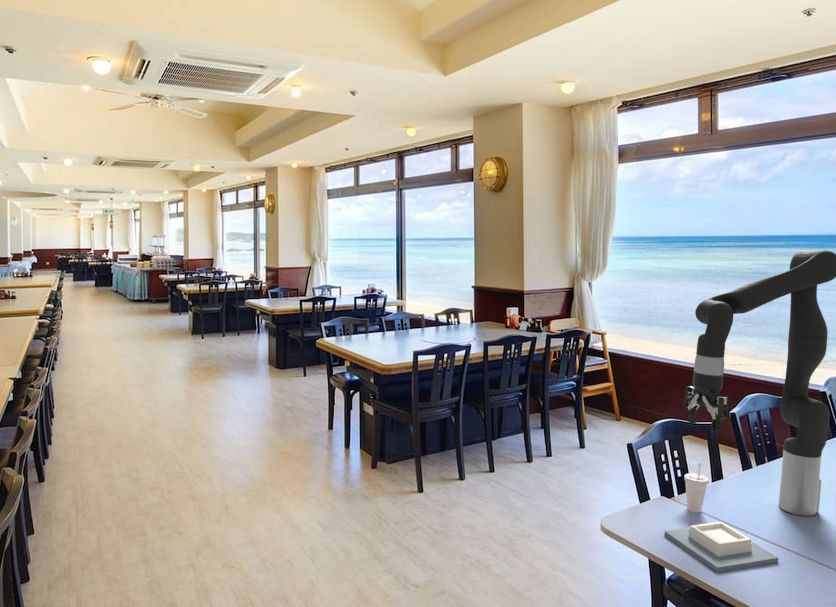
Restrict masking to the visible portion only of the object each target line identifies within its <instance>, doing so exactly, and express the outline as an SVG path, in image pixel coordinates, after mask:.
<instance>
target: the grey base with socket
mask: <svg viewBox="0 0 836 607" xmlns="http://www.w3.org/2000/svg"><path fill="white" fill-rule="evenodd" d="M664 537H665V538H667V539H669V540H670V541H672V542H673V543H675V544H676V545H677V546H679V547H680V548H682V549H683V550H685V551H686V552H687V553H689V554H690V555H691V556H693V557H694V558H695V559H697V560H699V561H700V562H702V563H703V564H704V565H705V566H707V567H709V568H710V569H711V570H713V571H714V572H716V573H721V572H727V571H735V570H741V569H746V568H753V567H759V566H765V565H772V564H777V563H779V557H778V556H776V555H775V554H773V553H771V552H769V551H768V550H767V549H765V548H763V547H761V546H760V545H758V544H756V543H755V542H753V541H752V539H751V538H750V537H748V536H746V535H745V534H743V533H741V532H739V531H738V530H736V529H735V528H733V527H731V526H730V525H728V524H726V523H724V522H722V521H716V522H708V523H700V524H694V525H690V526H689V527H686V528H685V527H684V528H678V529H669V530H664Z"/></svg>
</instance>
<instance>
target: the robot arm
mask: <svg viewBox="0 0 836 607" xmlns="http://www.w3.org/2000/svg"><path fill="white" fill-rule="evenodd" d="M834 279H836V253H835V252H833V251H831V250H827V249H826V250H825V249H802V250H799V251H797V252H796V253H795V254H793V256H792V258H791V260H790V263H789V270H786V271H783V272H781V273H777V274H774V275H770V276H766V277H763V278H760V279H757V280H753V281H751V282H748V283H747V284H744V285H742V286H740V287H737V288H735V289H734V290H731V291H729V292H725V293H721V294H717V295H715V296H712V297H709V298H707V299H704V300H703V301H701V302H700V303H698V305H697V306H696V308H695V312H694V313H695V314H694V315H695V317H696V319H697V320H698V321H699V322H700V323H701V324H703V325H706V328H705V331H704V333H702V334H700V335H699V336H698V337H697V343H696V353H695V359H694V365H693V366H694V367H693V374H692V385H689V386H686V387H685V389H684V390H685V391H684V397H683V406H684V407H686V408H687V409H688V416H687V419H688V423H689V424H696V423H697V419H698V409H699V407H703V408H705V409H706V410H707V411H708V412H709V413H710V415H711V417H712V419H711V426H710V432H711V433H713V434H714V433H719V432H720V431H721V425H722V420H726V419H728V418H729V408H730V407H729V405H730V404H729V403H730V399H729V397H728V396H721V395H720V392H721V390H722V389H723V383H724V373H725V372H724V370H725V353H726V352H725V349H726V341H727V339H728V337H729V334H730V331H731V329H732V326H733V322H734V315H736V314H737V315H738V314H740V315H741V314H746V313H748V312H751V311H754V310H755V309H757V308H759V307H761V306H764V305H765V304H766V305H767V304H768V303H771V302H772V301H775V300H777V299H779V298H782V297H784V296H787V295H789V294H790V311H789V312H790V313H789V328H788V339H787V340H788V341H787V357H786V358H787V359H786V369H785V379H784V384H783V389H782V395H781V400H780V405H779V406H780V408H779V409H780V410H779V412H780V416H781V418H782V420H783V421H784V422H785V423H787V424H789V425H791V426H793V427H796V428H797V432H796V433H797V434H796V437H788V438H785V439H784V441H783V450H782V461H781V462H782V465H781V474H780V485H779V494H778V495H779V496H778V507H779V508H780V509H781V510H783V511H784V512H788V513H790V514H793V515H796V516H802V517H812V516H816V514H817V513H819V511H820V500H821V499H820V498H821V490H822V480H821V478H820V476H821V464H822V463H821V462H822V456H823V455H822V454H823V450H824V448H825V447H826V443H827V438H828V434H829V433H828V432H829V426H830V420H831V419H830V416H831V415H830V410H829V408H828V406H827V405H826V404H825V403H824V402H822V401H821V400H817V399H814V398H811V397H809V386H810V380H811V377H812V376H813V374H814V372H815V371H816V369H818V367H819V366H820V364H821V363H822V361H823V360H824V358H825V356H826V354H827V349H828V348H827V345H828V326H827V323H826V321H825V318H824V315H823V313H822V310H821V308H820V306H819V303H818V302H819V301H818V292H817V291H818V286H819V285H821V284H826V283H828V282H831V281H833V280H834Z"/></svg>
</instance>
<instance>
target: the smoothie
mask: <svg viewBox="0 0 836 607" xmlns="http://www.w3.org/2000/svg"><path fill="white" fill-rule="evenodd" d="M701 464H702V463H701V462H698V466H697V468H698V469H697V473H694V472H691V473H690V472H689V473H686V474H684V478H683V480H684V482H685V493H686V494H685V496H686V497H685V498H686V509H687V511H689V512H691V513H701V512H702V509H703V505H704V499H705V496H706V495H705V494H706V491H707V486H708V485H709V478H708V477H707V476H705V475H703V474H701V467H702V465H701Z"/></svg>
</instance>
